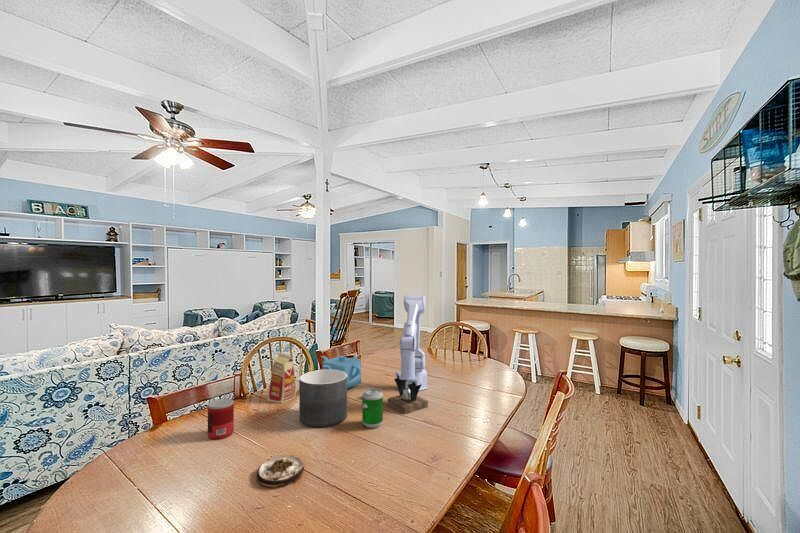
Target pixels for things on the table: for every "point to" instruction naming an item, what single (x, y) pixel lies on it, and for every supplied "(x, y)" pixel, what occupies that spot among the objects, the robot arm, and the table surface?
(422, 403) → the socket block
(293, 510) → the table surface
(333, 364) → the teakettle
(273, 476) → the sushi roll
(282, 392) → the milk carton
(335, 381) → the planter
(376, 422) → the soda can
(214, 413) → the canned food
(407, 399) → the long pin
